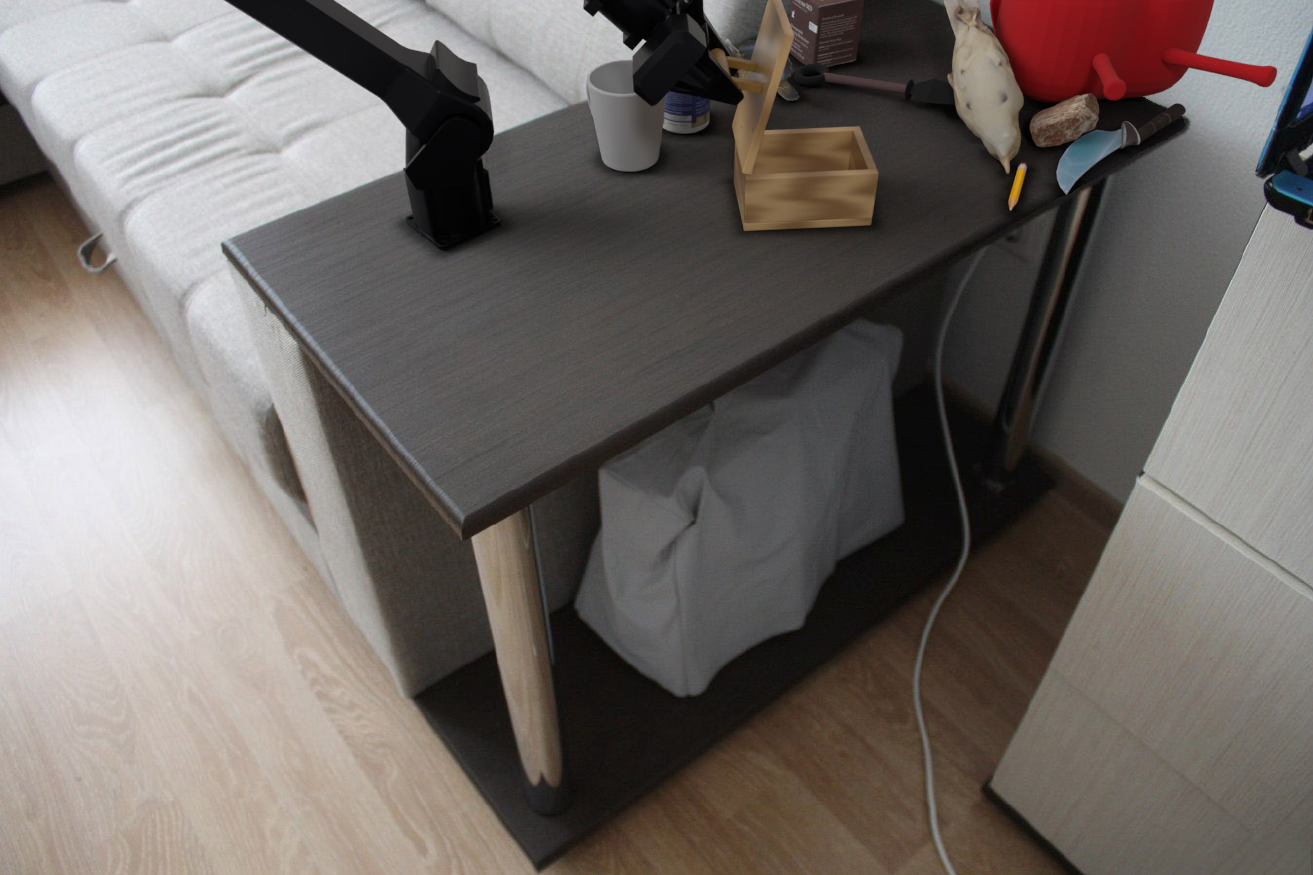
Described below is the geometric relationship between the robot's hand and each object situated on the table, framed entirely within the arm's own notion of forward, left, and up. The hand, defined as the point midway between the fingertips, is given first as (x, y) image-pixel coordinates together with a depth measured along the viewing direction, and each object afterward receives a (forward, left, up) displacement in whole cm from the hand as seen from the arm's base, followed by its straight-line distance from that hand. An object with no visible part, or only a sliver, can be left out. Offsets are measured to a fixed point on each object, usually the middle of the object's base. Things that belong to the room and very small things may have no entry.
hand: (738, 86), depth 88 cm
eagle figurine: (+17, +15, -12) cm, 26 cm away
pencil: (+21, -16, -11) cm, 29 cm away
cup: (-1, +15, -12) cm, 19 cm away
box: (+30, +16, -12) cm, 36 cm away
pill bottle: (+8, +15, -12) cm, 21 cm away
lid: (+2, -1, 0) cm, 2 cm away
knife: (+35, -15, -11) cm, 39 cm away
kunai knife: (+31, -10, -14) cm, 36 cm away
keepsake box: (+5, -4, -12) cm, 13 cm away
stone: (+34, -16, -11) cm, 39 cm away
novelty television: (+50, +3, -7) cm, 50 cm away
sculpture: (+27, -5, -4) cm, 28 cm away
